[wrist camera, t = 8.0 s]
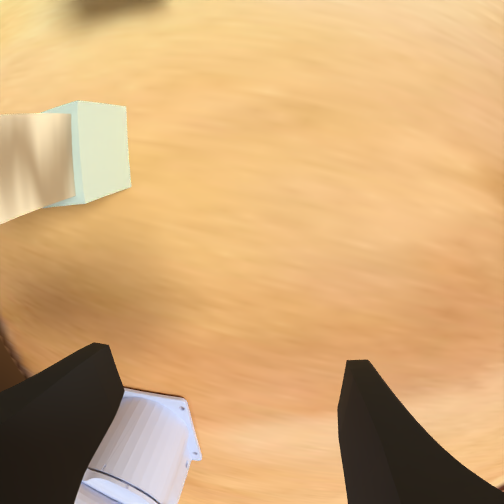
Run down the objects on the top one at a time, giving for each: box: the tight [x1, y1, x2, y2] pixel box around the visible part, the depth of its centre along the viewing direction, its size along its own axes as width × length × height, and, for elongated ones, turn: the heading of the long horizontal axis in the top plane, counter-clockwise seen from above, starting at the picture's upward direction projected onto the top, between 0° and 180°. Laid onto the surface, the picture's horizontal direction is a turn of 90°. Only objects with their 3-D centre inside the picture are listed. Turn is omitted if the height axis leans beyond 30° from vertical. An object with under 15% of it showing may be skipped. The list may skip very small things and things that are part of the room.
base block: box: [41, 100, 131, 208], centre depth 15 cm, size 5×5×5 cm
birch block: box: [0, 113, 76, 224], centre depth 10 cm, size 4×4×5 cm
